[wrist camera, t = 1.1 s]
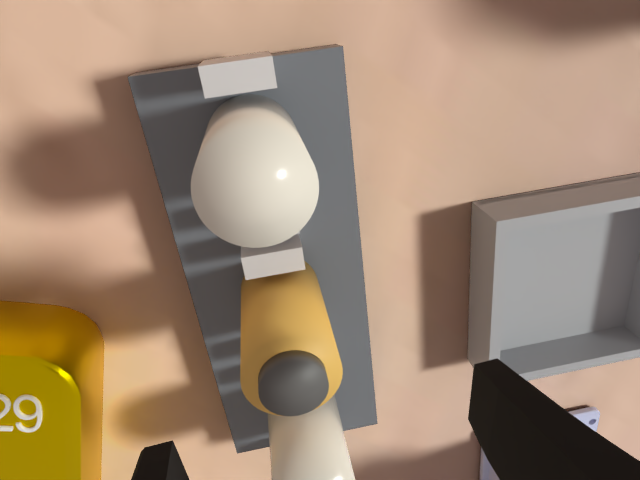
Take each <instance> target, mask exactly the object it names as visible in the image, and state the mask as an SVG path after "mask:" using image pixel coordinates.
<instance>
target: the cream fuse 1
mask: <svg viewBox="0 0 640 480" xmlns="http://www.w3.org/2000/svg"><path fill="white" fill-rule="evenodd" d="M191 196H192V201H193V204H194V207H195V210H196V212H197V214H198V216H199V217H200V219H201V220H202V222H203V223H204V224H205V226H206V227H207V228H208V229H209V230H210V231H212V232H213V233H214V234H215V235H217V236H218V237H220V238H221V239H223V240H225V241H227V242H229V243H232V244H235V245H238V246H242V247H250V248H261V247H268V246H273V245H276V244H279V243H282V242H284V241H286V240H288V239H289V238H291V237H292V236H294V235H295V234H297V233H298V232H299V231H300V230H301V229H302V228H303V227H304V226H305V225H306V224H307V222H308V221H309V219H310V218H311V216H312V214H313V212H314V210H315V207H316V205H317V201H318V196H319V180H318V175H317V171H316V168H315V165H314V163H313V161H312V159H311V157H310V155H309V153H308V151H307V149H306V147H305V145H304V143H303V141H302V139H301V137H300V135H299V133H298V131H297V129H296V127H295V125H294V123H293V121H292V119H291V117H290V115H289V114H288V112H287V111H286V110H285V109H284V108H283V107H282V106H281V105H280V104H278V103H277V102H275V101H274V100H272V99H270V98H268V97H265V96H262V95H256V94H245V95H239V96H236V97H233V98H231V99H229V100H227V101H225V102H224V103H223V104H221V105H220V106H219V107H218V108H217V109H216V111H215V112H214V113H213V115H212V117H211V118H210V121H209V123H208V126H207V129H206V132H205V135H204V138H203V141H202V144H201V147H200V150H199V154H198V157H197V160H196V163H195V166H194V169H193V173H192V177H191Z"/></svg>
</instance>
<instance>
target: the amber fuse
mask: <svg viewBox="0 0 640 480" xmlns="http://www.w3.org/2000/svg"><path fill="white" fill-rule="evenodd" d="M304 262H305V261H304ZM342 376H343V367H342V362H341V359H340V356H339V352H338V349H337V345H336V342H335V338H334V335H333V331H332V328H331V324H330V321H329V317H328V314H327V310H326V307H325V303H324V300H323V296H322V293H321V290H320V286H319V283H318V279H317V276H316V274H315V272H314V270H313V269H312V267H311V266H310V265H309V264H308V263H307V262H305V270H299V271H294V272H288V273H283V274H277V275H272V276H266V277H261V278H255V279H250V280H246V279H245V275H244V277H243V280H242V283H241V359H240V383H241V389H242V391H243V394H244V395H245V397H246V399H247V400H248V401H249V402H250V403H251V404H252V405H253V406H255V407H256V408H257V409H259V410H261V411H263V412H266V413H269V414H273V415H278V416H298V415H302V414H305V413H308V412H310V411H313V410H315V409H317V408H319V407H320V406H322V405H323V404H325V403H326V402H327V401H328V400H329V399H330V398H332V396H333V395H334V394H335V393H336V391H337V390H338V388H339V386H340V384H341V380H342Z"/></svg>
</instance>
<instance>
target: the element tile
mask: <svg viewBox="0 0 640 480" xmlns="http://www.w3.org/2000/svg"><path fill="white" fill-rule="evenodd" d="M103 372H104V340H103V337H102V334H101V332H100V331H99V329H98V327H97V325H96V323H94V322H93V321H92V320H91V319H90V318H89V317H87V316H86V315H85V314H83V313H80V312H78V311H75V310H73V309H71V308H67V307H62V306H57V305H47V304H35V303H23V302H11V301H0V480H101V458H102V415H103Z"/></svg>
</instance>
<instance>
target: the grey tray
mask: <svg viewBox="0 0 640 480" xmlns="http://www.w3.org/2000/svg"><path fill="white" fill-rule="evenodd" d="M638 357H640V173H634V174H629V175H623V176H617V177H611V178H606V179H600V180H594V181H588V182H583V183H577V184H571V185H566V186H560V187H554V188H548V189H543V190H537V191H531V192H525V193H520V194H514V195H508V196H502V197H497V198H491V199H485V200H480V201H474V202H472V216H471V252H470V288H469V324H468V360H469V362H470V363H471V365H472V366H473V368H474V364H477V363H481V362H485V361H489V360H493V359H497V358H498V359H499V360H500V361H502V362H503V363H504V364H506V365H507V366H508V367H510V368H511V369H512V370H514V371H515V372H516V373H517V374H519V375H520V376H521V377H523V378H524V379H525V380H526V381H528V380H533V379H538V378H543V377H548V376H552V375H557V374H562V373H567V372H571V371H576V370H581V369H586V368H591V367H595V366H600V365H605V364H610V363H614V362H619V361H624V360H629V359H634V358H638Z"/></svg>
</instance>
